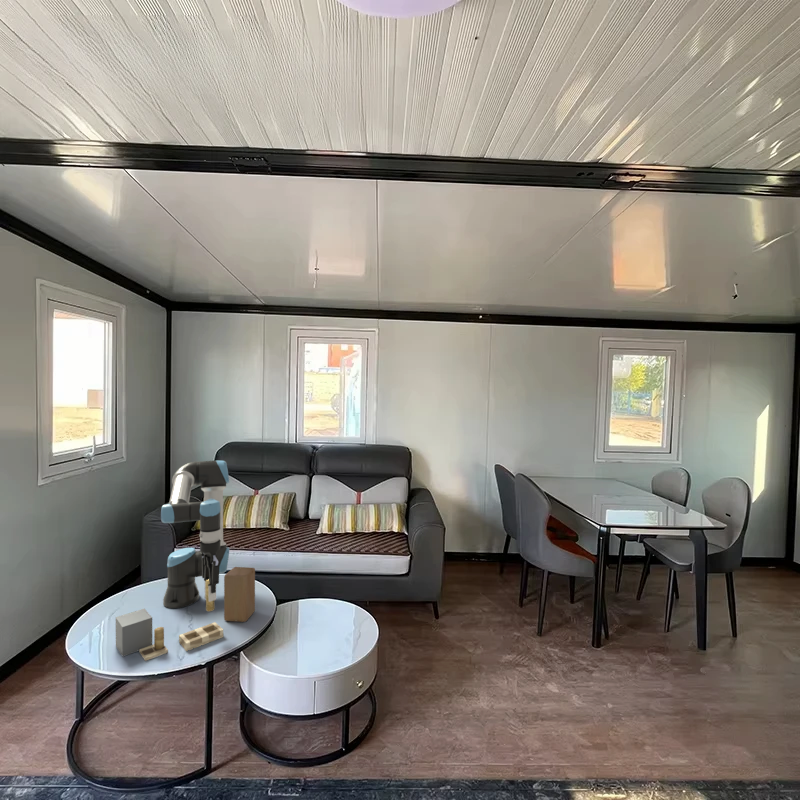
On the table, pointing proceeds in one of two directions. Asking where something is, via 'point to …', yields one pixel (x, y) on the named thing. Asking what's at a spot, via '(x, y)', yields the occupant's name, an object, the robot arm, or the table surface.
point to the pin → (209, 605)
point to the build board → (200, 636)
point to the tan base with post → (155, 646)
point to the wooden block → (239, 594)
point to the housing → (133, 631)
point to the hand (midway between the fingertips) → (210, 598)
